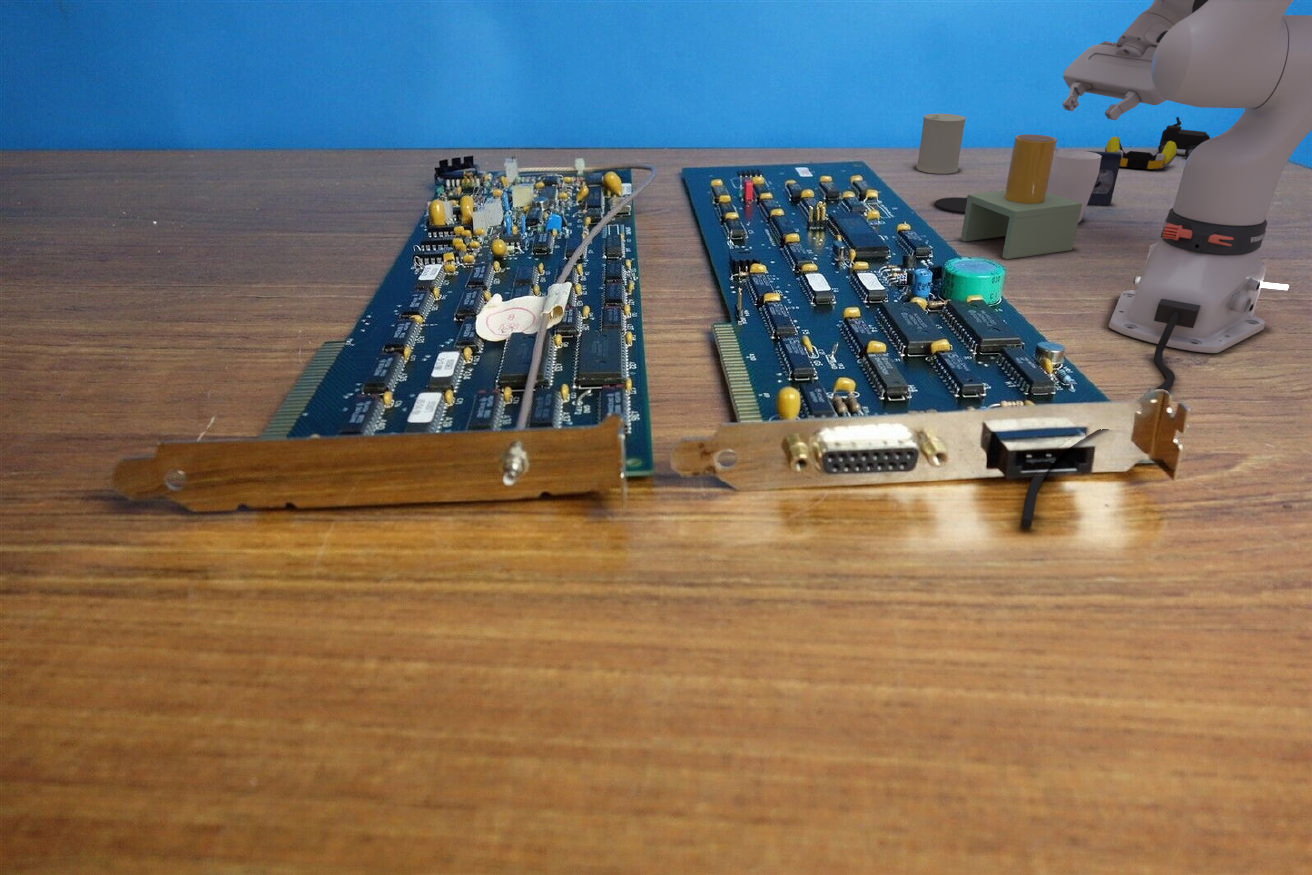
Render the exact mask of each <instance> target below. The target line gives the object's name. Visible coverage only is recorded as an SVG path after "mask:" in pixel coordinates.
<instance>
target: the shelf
mask: <svg viewBox="0 0 1312 875" xmlns="http://www.w3.org/2000/svg"><path fill="white" fill-rule="evenodd" d="M1005 190H1006V189H1005ZM1005 190H1004V189H1003V190H995V191H988V192H979V193H978V192H977V193H969V194H967V197H966V198H967V204H966V210H965V214H964V216H963V217H964V218H963V224H962V229H961V236H960V240H961V241H963V242H971V241H979V240H986V239H987V240H988V239H995V238H1001V237H1002V238H1003V237H1005V240H1004V246H1003V250H1002V251H1003V252H1002V256H1001V257H1002V258H1003V259H1004V260H1010V259H1012V260H1013V259H1018V258H1019V259H1020V258H1026V257H1031V256H1039V255H1047V254H1054V253H1059V252H1067V251H1073V247H1074V244H1075V238H1076V234H1077V230H1078V225H1079V222H1078V221H1079V217H1080V212H1081V208H1082V203H1079V202H1076V201H1073V200H1070V199H1067V198H1064V197H1060V196H1057V195H1054V194H1051V193H1048V192H1046V196H1045V201H1044V202H1042V203H1035V204H1026V203H1017V202H1013V201H1009V200H1007V199H1005V198H1004V196H1005Z"/></svg>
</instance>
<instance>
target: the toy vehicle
mask: <svg viewBox="0 0 1312 875" xmlns="http://www.w3.org/2000/svg"><path fill="white" fill-rule="evenodd" d="M1175 120H1176V123H1174V124H1171V125H1167V126H1166V128H1165V129H1163V130H1162V133H1161V136H1160V141H1159V145H1158V148H1157V151H1158V152H1159V151H1160V150H1161V149H1162V147H1163V146H1164V145H1165V144H1166V143H1167V142H1168V141H1172V142H1175V144H1176V147H1177V150H1183V151H1184V155H1185V157H1186V159H1187V158H1188V157H1189V155H1190V154H1191V152H1192V151H1193V150H1194V149H1195V148H1196V147H1197V146H1198V145H1200V144H1201V143H1203V142H1205V141H1207V140H1209V139H1211V137H1210V135H1209V134H1208V133H1207V132H1206V131H1202V130H1201V131H1200V130H1191V129H1182V126H1181V125H1182V121H1181V119H1180V117H1179V116H1177V117H1175Z"/></svg>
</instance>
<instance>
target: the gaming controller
mask: <svg viewBox="0 0 1312 875" xmlns="http://www.w3.org/2000/svg"><path fill="white" fill-rule="evenodd" d="M1104 152H1115V153H1116V152H1119V153H1121V155H1122V157H1121V162H1120V165H1119V167H1118V168H1123V167H1125V168H1132V169H1145V170H1158V169H1163V168H1165V167H1167V166H1169V165H1170V164H1171V163H1172V162H1173V160H1174V159H1175V158H1176V156H1177V152H1178V149H1177V147H1176V144H1175V142H1172V141H1168V142H1167V143H1166V144H1165V145H1164V146H1163V147H1162V149H1161V150H1160V151H1158V152H1157V153H1156V154H1154V155H1153V154H1152V153H1151V152H1149V151H1148V152H1147V151H1136V150H1129V151H1127V152H1125V151H1124V149H1123V146H1122V144H1121V140H1120V138H1119V136H1111V137H1110V138H1109V139H1108V141H1107V142H1106V145H1105V148H1104Z"/></svg>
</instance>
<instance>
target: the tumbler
mask: <svg viewBox="0 0 1312 875" xmlns="http://www.w3.org/2000/svg"><path fill="white" fill-rule="evenodd" d="M1057 141H1058V139H1057V138H1055V137H1054V136H1049V135H1044V134H1018V135H1015V137H1014V142H1013V146H1012V153H1011V157H1010V163H1009V168H1008V175H1007V180H1006V185H1005V196H1004V198H1005V199H1007V200H1009V201H1013V202H1017V203H1026V204H1035V203H1042V202H1044V201H1045V196H1046V191H1047V187H1048V182H1049V177H1050V172H1051V167H1052V162H1053V157H1054V152H1055V150H1056V147H1057V143H1058V142H1057Z"/></svg>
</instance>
